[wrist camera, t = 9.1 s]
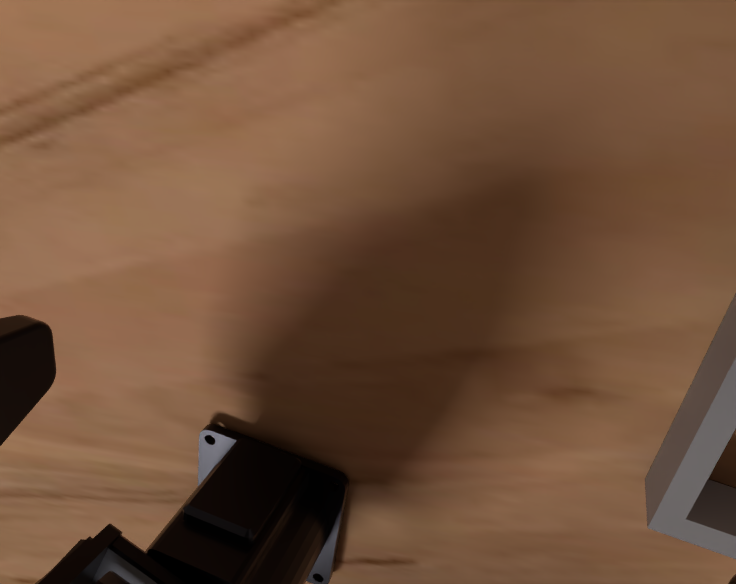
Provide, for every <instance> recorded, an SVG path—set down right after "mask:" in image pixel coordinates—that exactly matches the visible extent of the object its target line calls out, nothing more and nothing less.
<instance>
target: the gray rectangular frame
mask: <svg viewBox="0 0 736 584" xmlns="http://www.w3.org/2000/svg"><path fill="white" fill-rule="evenodd" d="M735 429H736V294H735V296H734V298H733V300H732V302H731V304H730V306H729V308H728V310H727V312H726V314H725V316H724V318H723V320H722V322H721V324H720V326H719V328H718V331H717V333H716V335H715V337H714V339H713V341H712V343H711V345H710V347H709V349H708V351H707V353H706V355H705V357H704V359H703V361H702V363H701V365H700V367H699V370H698V372H697V374H696V376H695V378H694V380H693V382H692V384H691V386H690V388H689V390H688V392H687V394H686V396H685V398H684V400H683V402H682V404H681V406H680V408H679V411H678V413H677V415H676V417H675V419H674V421H673V423H672V425H671V427H670V429H669V431H668V433H667V435H666V437H665V439H664V441H663V443H662V445H661V447H660V450H659V452H658V454H657V456H656V458H655V460H654V462H653V464H652V466H651V468H650V470H649V472H648V474H647V476H646V478H645V489H646V508H647V527H648V528H649V529H652V530H655V531H657V532H660V533H663V534H666V535H669V536H672V537H674V538H677V539H680V540H683V541H686V542H689V543H691V544H694V545H697V546H700V547H703V548H706V549H708V550H711V551H714V552H717V553H720V554H723V555H725V556H728V557H731V558H734V559H736V488H733V487H730V486H727V485H724V484H721V483H718V482H715V481H712V480H709V479H708V478H709V476H710V474H711V472H712V471H713V469H714V467H715V465H716V463H717V461H718V460H719V458H720V456H721V454H722V452H723V451H724V449H725V447H726V445H727V443H728V442H729V440H730V438H731V436H732V434H733V432H734V431H735Z"/></svg>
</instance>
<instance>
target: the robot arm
mask: <svg viewBox="0 0 736 584" xmlns="http://www.w3.org/2000/svg"><path fill="white" fill-rule="evenodd" d="M55 376H56V363H55V354H54V345H53V336H52V330H51V329H50V327H49V325H47V324H46V323H44V322H42V321H39V320H36V319H34V318H31V317H28V316H24V315H16V316H10V317H5V318H0V446H1V445H2V444H3V442H4V441H5V440H6V439H7V438H8V437H9V435H10V434H11V433H12V432H13V431H14V430H15V428H16V427H17V426H18V425H19V424H20V423H21V421H22V420H23V419H24V418H25V417H26V416H27V414H28V413H29V412H30V411H31V410H32V409H33V407H34V406H35V405H36V404H37V403H38V402H39V400H40V399H41V398H42V397H43V396H44V395H45V393H46V392H47V391H48V390H49V388H50V387H51V385H52V384H53V382H54V379H55ZM333 482H335V483H337V484H338V485H336V484H335V483H333ZM348 486H349V480H348V478H347V476H346V475H345V474H344V473H342V472H340V471H338V470H336V469H333V468H330V467H328V466H325V465H322V464H320V463H317V462H314V461H312V460H309V459H306V458H303V457H301V456H298V455H295V454H293V453H290V452H287V451H285V450H282V449H279V448H277V447H274V446H271V445H269V444H266V443H263V442H260V441H258V440H255V439H252V438H250V437H247V436H244V435H242V434H239V433H236V432H234V431H231V430H228V429H225V428H223V427H220V426H217V425H214V424H209V425H207V426H206V427H205V428H204V429H203V430H202V431H201V432H200V435H199V467H198V487H197V489H196V490H195V491H194V492H193V493H192V495H191V496H190V497H189V498H188V500H187V501H186V502H185V503H184V504H183V506H182V507H181V508H180V509H179V511H178V512H177V513H176V514H175V515H174V517H173V518H172V519H171V520H170V522H169V523H168V524H167V525H166V526H165V528H164V529H163V530H162V531H161V533H160V534H159V535H158V536H157V537H156V539H155V540H154V541H153V542H152V544H151V545H150V546H149V547H148V548H147V550H146V551H145V552H144V551H143V550H141V549H140V548H139V547H137V546H136V545H134V544H133V543H132V542H130V541H129V540H128V539H126V538H125V537H123V536H122V535H121V534H122V532H121V531H120V530H119V529H117V528H116V527H114V526H113V525H112V524H108V525H107V526H106V527H105V528H104V529H103V530H102V531H101V532H100V533H99V534H98V535H96V536H95V537H94V538H93V539H92V538H91V537H89V538H87V539H86V540H82V539H81V540H80V541H79V542H78V543H77V544H76V545H75V546H74V547H73V548H72V549H71V550H70V551H69V552H68V553H67V554H66V555H65V557H64V558H63V559H62V560H61V561H60V562H59V563H58V564H57V565H56V566H55V567H54V568H53V569H52V570H51V571H50V572H49V573H48V574H46V575H45V576H44V577H43V578H42V579H40V580H39V581H38V582H37V583H35V584H305V582H306V581H308V582H310V583H313V584H328V583H329V581H330V579H331V577H332V574H333V568H334V563H335V557H336V552H337V546H338V541H339V536H340V530H341V525H342V519H343V514H344V508H345V503H346V497H347V492H348ZM728 584H736V575H734V576H733V578H732V579H731V580H730V582H729V583H728Z"/></svg>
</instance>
